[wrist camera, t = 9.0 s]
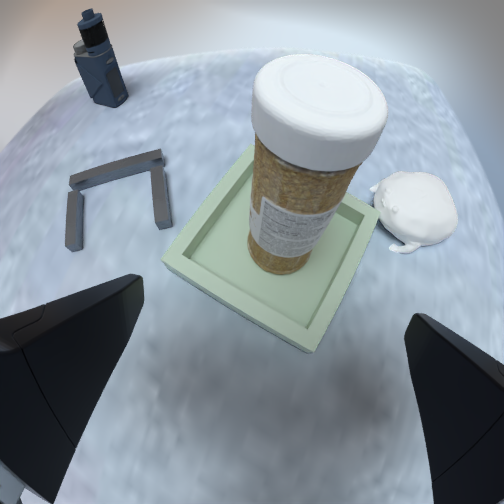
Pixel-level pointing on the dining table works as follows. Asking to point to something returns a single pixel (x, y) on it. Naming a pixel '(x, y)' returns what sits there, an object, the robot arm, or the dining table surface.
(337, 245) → the tray
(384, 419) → the dining table surface
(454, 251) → the dining table surface
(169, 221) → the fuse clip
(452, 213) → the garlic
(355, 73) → the sprinkles bottle
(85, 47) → the vaping device
